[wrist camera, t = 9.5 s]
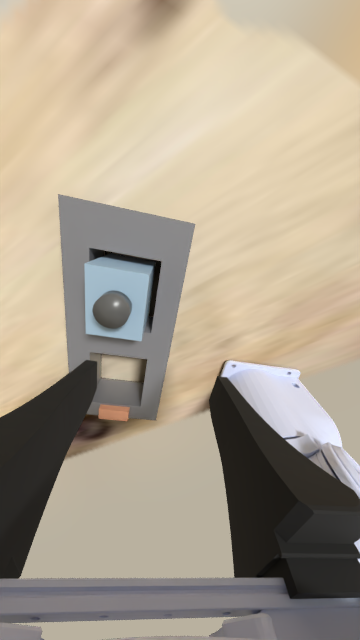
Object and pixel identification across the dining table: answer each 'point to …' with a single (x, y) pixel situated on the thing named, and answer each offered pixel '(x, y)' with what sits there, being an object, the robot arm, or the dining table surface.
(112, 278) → the plug
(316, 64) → the dining table surface
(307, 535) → the robot arm
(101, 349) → the grey slotted tray
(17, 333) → the dining table surface
